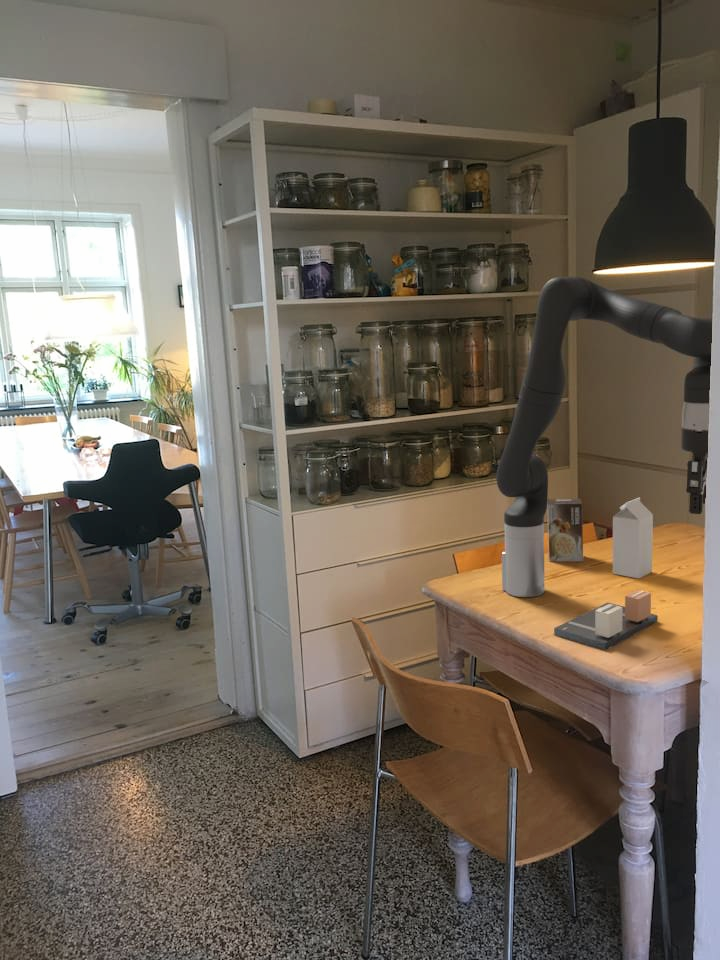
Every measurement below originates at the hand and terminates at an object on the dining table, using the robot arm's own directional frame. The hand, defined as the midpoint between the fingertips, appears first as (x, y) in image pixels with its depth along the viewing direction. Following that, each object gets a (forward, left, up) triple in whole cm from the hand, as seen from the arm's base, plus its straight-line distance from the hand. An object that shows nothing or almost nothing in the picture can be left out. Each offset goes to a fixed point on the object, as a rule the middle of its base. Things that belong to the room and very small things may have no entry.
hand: (700, 508), depth 154 cm
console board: (-17, -6, -27) cm, 32 cm away
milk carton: (-32, +29, -27) cm, 51 cm away
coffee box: (-52, +29, -27) cm, 65 cm away
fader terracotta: (-13, -1, -25) cm, 28 cm away
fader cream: (-13, -12, -25) cm, 31 cm away
